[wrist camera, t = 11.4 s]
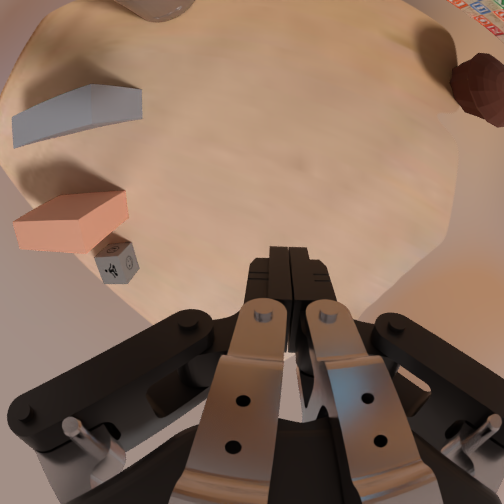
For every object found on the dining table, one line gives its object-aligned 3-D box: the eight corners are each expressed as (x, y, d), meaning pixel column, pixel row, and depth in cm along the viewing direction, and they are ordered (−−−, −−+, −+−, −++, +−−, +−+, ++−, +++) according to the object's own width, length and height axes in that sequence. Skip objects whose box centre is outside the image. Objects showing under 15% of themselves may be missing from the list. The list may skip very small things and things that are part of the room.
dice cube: (139, 268, 45) (127, 283, 40) (116, 268, 45) (103, 284, 41) (131, 241, 42) (118, 256, 38) (108, 243, 43) (94, 257, 38)
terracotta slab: (64, 218, 41) (20, 249, 30) (59, 195, 39) (12, 221, 28) (129, 217, 40) (86, 253, 29) (125, 190, 38) (78, 219, 27)
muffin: (481, 58, 22) (519, 54, 13) (497, 119, 27) (535, 127, 18) (433, 57, 25) (472, 49, 16) (452, 126, 29) (494, 134, 20)
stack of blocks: (513, 31, 16) (552, 28, 5) (514, 54, 19) (556, 54, 8) (429, -32, 15) (463, -55, 4) (429, -10, 18) (468, -33, 7)
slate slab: (67, 134, 34) (13, 148, 23) (66, 109, 32) (11, 117, 21) (142, 118, 33) (92, 123, 22) (141, 89, 31) (91, 83, 20)
